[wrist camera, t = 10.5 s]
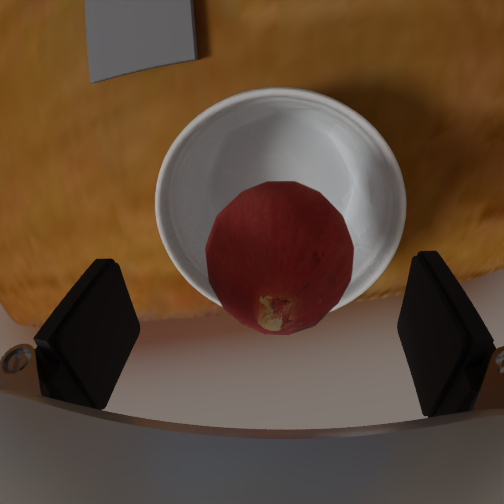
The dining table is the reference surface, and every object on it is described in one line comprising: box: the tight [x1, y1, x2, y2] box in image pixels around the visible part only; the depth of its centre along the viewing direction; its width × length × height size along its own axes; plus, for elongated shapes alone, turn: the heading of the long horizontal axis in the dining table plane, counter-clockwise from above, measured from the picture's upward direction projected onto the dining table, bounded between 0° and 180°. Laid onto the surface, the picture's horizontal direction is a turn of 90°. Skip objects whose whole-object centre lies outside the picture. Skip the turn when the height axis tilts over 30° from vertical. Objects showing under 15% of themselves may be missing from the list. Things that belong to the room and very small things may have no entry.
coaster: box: [85, 0, 198, 83], centre depth 17 cm, size 8×8×1 cm
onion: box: [205, 181, 354, 335], centre depth 13 cm, size 6×6×8 cm
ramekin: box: [155, 87, 406, 313], centre depth 19 cm, size 13×13×7 cm
